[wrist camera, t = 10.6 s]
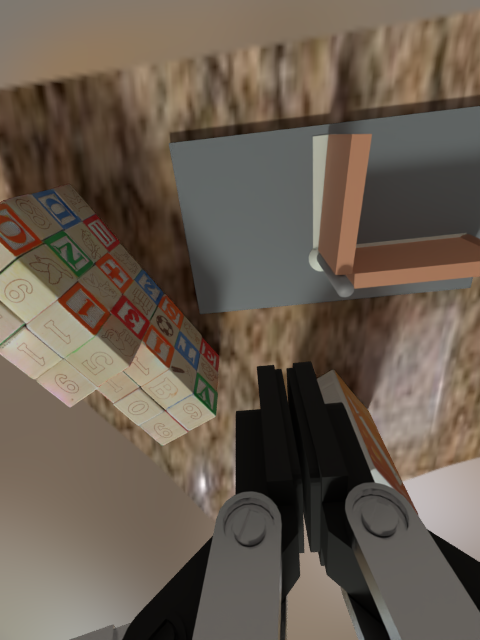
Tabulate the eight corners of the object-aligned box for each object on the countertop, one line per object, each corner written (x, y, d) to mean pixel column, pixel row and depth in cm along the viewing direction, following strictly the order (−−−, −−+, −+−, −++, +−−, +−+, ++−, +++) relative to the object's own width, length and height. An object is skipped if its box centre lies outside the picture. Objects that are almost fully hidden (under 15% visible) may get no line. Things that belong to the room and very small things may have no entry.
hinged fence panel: (329, 264, 31) (352, 297, 25) (316, 264, 31) (336, 297, 25) (343, 134, 26) (377, 133, 20) (327, 134, 26) (356, 134, 20)
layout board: (508, 102, 26) (514, 101, 25) (466, 285, 33) (470, 287, 32) (170, 143, 27) (168, 143, 26) (200, 311, 34) (199, 314, 33)
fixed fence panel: (475, 233, 30) (539, 259, 24) (471, 250, 31) (532, 280, 24) (334, 247, 30) (360, 277, 24) (334, 264, 31) (358, 297, 25)
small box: (369, 409, 41) (421, 517, 29) (323, 433, 42) (355, 544, 31) (333, 366, 37) (376, 468, 26) (286, 394, 39) (306, 501, 28)
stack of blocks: (221, 355, 37) (215, 447, 26) (177, 381, 38) (153, 478, 28) (68, 181, 28) (-36, 210, 18) (20, 225, 30) (-103, 276, 19)
